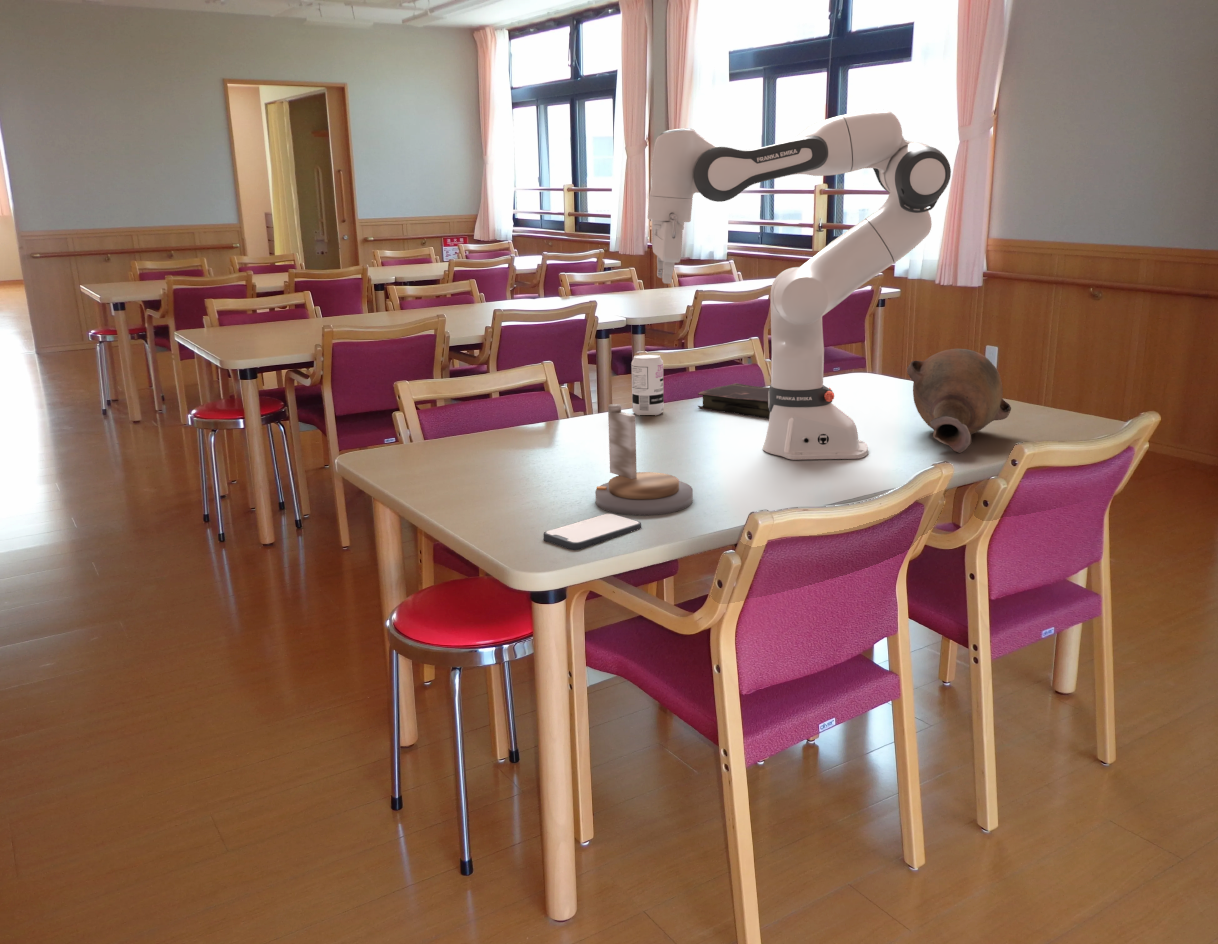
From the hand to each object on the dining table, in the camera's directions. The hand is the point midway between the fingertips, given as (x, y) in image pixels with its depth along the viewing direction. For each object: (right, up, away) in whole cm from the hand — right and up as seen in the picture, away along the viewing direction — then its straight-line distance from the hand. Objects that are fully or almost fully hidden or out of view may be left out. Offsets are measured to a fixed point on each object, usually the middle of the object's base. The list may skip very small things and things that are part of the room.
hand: (663, 280), depth 206 cm
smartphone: (-14, -51, -39) cm, 65 cm away
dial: (-6, -43, -21) cm, 48 cm away
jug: (+66, -33, +17) cm, 76 cm away
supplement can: (-1, -25, +54) cm, 59 cm away
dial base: (-5, -45, -22) cm, 50 cm away
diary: (+27, -24, +56) cm, 67 cm away
